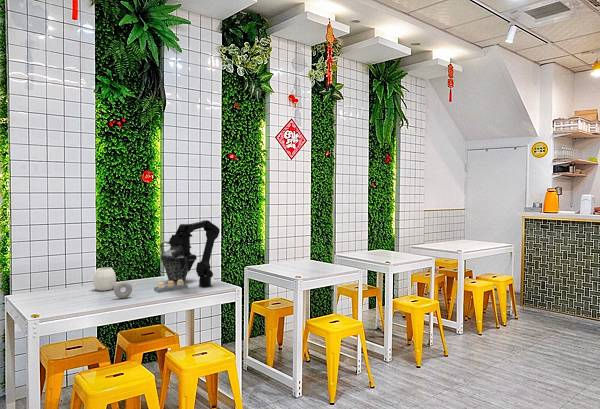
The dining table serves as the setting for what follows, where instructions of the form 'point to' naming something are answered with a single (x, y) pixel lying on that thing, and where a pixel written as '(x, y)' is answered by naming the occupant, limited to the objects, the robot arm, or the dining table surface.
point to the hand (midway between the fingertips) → (185, 270)
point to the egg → (170, 284)
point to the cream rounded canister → (104, 279)
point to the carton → (164, 288)
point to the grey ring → (120, 285)
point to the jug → (173, 264)
